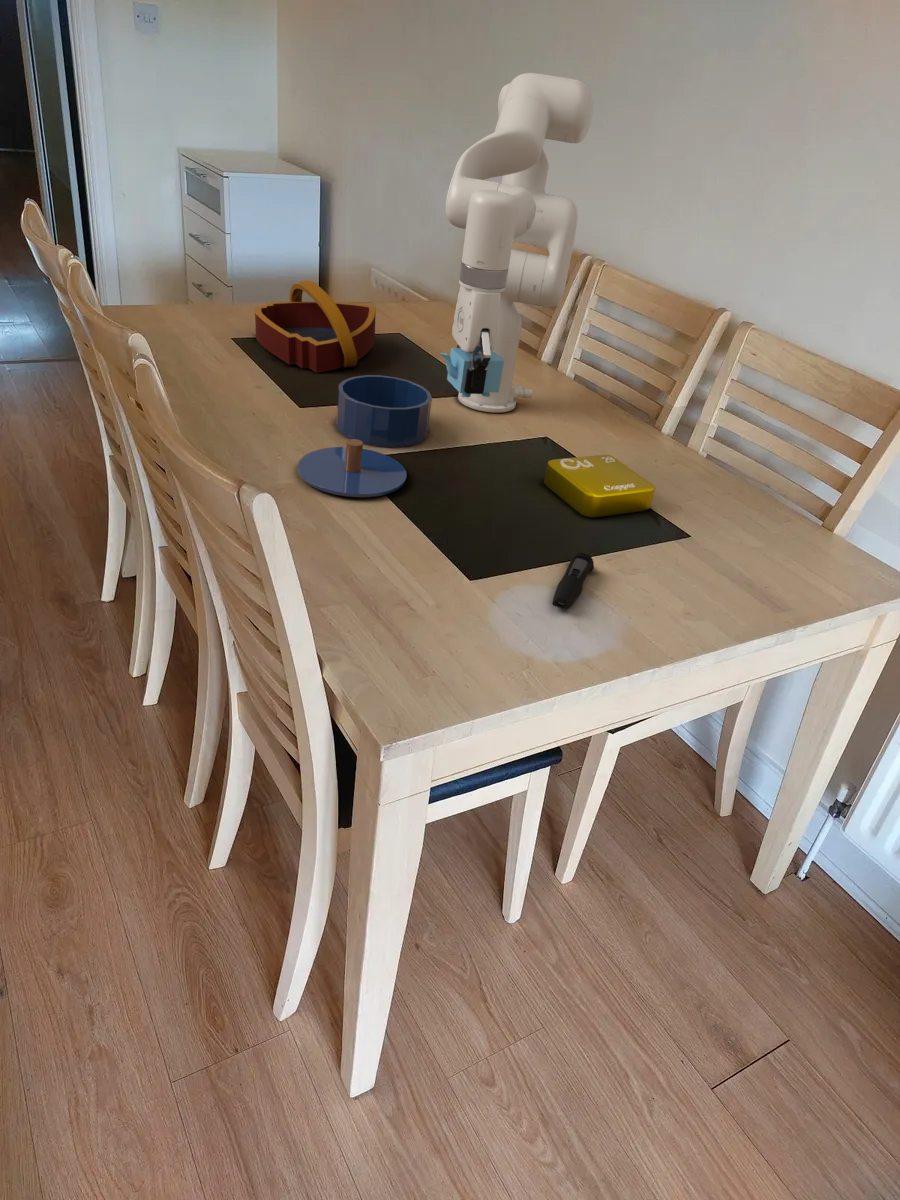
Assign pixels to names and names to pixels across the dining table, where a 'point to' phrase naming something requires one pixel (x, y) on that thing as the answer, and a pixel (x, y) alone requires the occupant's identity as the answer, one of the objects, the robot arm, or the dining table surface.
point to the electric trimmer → (573, 580)
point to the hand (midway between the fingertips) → (468, 383)
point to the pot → (383, 410)
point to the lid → (352, 471)
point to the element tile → (598, 485)
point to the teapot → (460, 364)
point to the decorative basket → (316, 329)
